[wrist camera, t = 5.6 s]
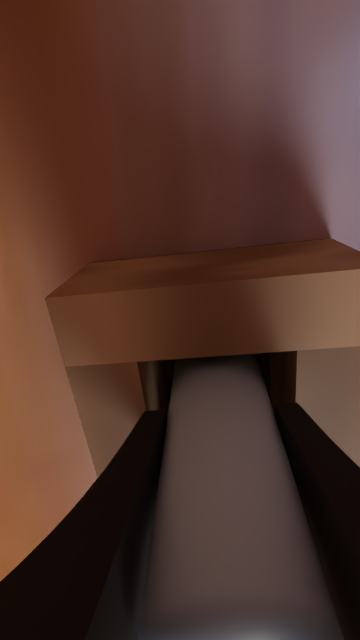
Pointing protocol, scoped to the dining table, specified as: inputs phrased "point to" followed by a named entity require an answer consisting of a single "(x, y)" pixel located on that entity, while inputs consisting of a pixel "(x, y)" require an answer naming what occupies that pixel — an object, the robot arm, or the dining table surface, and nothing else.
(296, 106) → the dining table surface
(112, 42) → the dining table surface
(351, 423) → the socket block
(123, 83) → the dining table surface
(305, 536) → the dowel
